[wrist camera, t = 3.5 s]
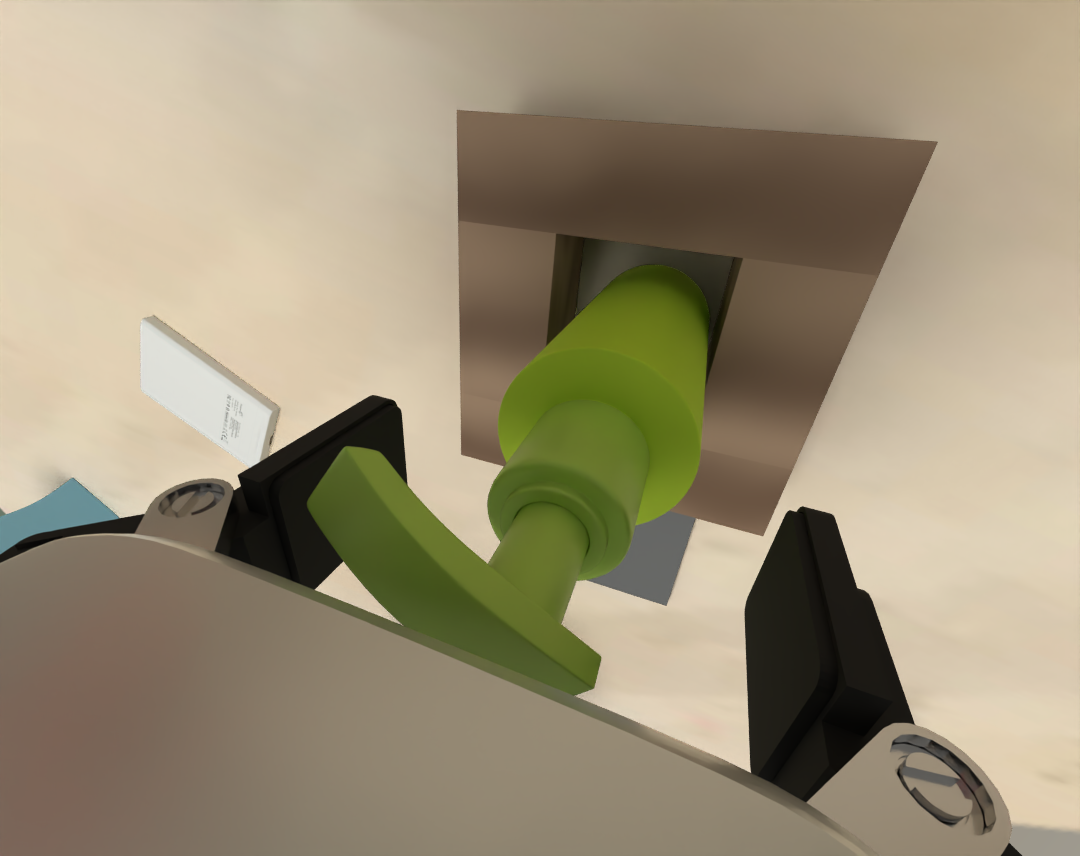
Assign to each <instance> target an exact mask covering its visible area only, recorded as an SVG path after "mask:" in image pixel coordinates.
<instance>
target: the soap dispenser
mask: <svg viewBox="0 0 1080 856" xmlns="http://www.w3.org/2000/svg"><path fill="white" fill-rule="evenodd" d="M709 321H710V318H709V309H708V305H707V301H706V299H705V297H704V295H703V293H702V291H701V289H700V288H699V287H698V285H697V284H696V283H695V282H694V281H693V280H692V279H691V278H690V277H688V276H687V275H686V274H684V273H683V272H681V271H679V270H677V269H674V268H671V267H668V266H663V265H643V266H638V267H635V268H632V269H630V270H627V271H625V272H624V273H622V274H620V275H619V276H617V277H616V278H615V279H614V280H613V281H612V282H611V283H610V284H608V285H607V286H606V287H605V288H604V289H603V290H602V291H601V292H600V293H599V294H598V295H597V296H596V297H595V298H594V299H593V300H592V301H591V302H590V303H589V304H588V305H587V306H586V307H585V308H584V309H583V310H582V311H581V312H580V313H579V314H578V315H577V316H576V317H575V318H574V319H573V320H572V321H571V322H570V323H569V324H568V325H567V326H566V327H565V328H564V329H563V330H562V331H561V332H560V333H559V334H558V335H557V336H556V337H555V338H554V339H553V340H552V341H551V342H550V343H549V344H548V345H547V346H546V347H545V348H544V349H543V350H542V351H541V352H540V353H539V354H538V355H537V356H536V357H535V358H534V359H533V360H532V361H531V362H530V363H529V364H528V365H527V366H526V367H525V368H524V369H523V370H522V371H521V372H520V373H519V374H518V375H517V376H516V377H515V379H514V380H513V381H512V383H511V384H510V386H509V387H508V389H507V391H506V393H505V395H504V397H503V400H502V403H501V406H500V411H499V417H498V435H499V442H500V446H501V450H502V453H503V456H504V458H505V461H506V464H505V466H504V467H503V469H502V470H501V471H500V473H499V474H498V476H497V477H496V479H495V480H494V482H493V484H492V486H491V489H490V492H489V495H488V503H487V507H488V515H489V519H490V522H491V525H492V528H493V530H494V532H495V534H496V536H497V537H498V539H499V540H500V542H501V543H500V544H499V546H498V548H497V549H496V551H495V553H494V554H493V556H492V558H491V559H490V561H489V563H488V564H487V563H486V562H485V561H483V560H482V559H481V558H480V557H479V556H478V555H476V554H475V553H474V552H473V551H472V550H471V549H469V548H468V547H467V546H466V545H465V544H464V543H463V542H461V541H460V540H459V539H458V538H457V537H456V536H455V535H454V534H453V533H452V532H451V531H449V530H448V529H447V528H446V527H445V526H444V525H443V524H442V523H441V522H440V521H439V520H438V519H437V518H436V517H435V516H434V515H433V514H432V513H431V512H430V510H429V509H428V508H427V507H426V506H425V505H424V504H423V503H422V502H421V501H420V500H419V498H418V497H417V496H416V495H415V494H414V493H413V492H412V490H411V489H410V488H409V487H408V486H407V484H406V483H405V482H404V481H403V479H402V478H401V477H400V476H399V474H398V473H397V472H396V471H395V469H394V468H393V467H392V465H391V464H390V463H389V462H388V460H387V459H386V458H385V457H384V456H383V455H382V454H381V453H380V452H379V451H376V450H371V449H367V448H361V447H351V446H346V447H344V448H343V449H342V450H341V452H340V453H339V454H338V456H337V457H336V459H335V460H334V462H333V463H332V464H331V466H330V467H329V469H328V470H327V472H326V473H325V475H324V476H323V478H322V479H321V481H320V482H319V484H318V485H317V487H316V488H315V490H314V491H313V493H312V494H311V496H310V497H309V499H308V501H307V508H308V510H309V512H310V513H311V515H312V517H313V518H314V520H315V522H316V523H317V525H318V526H319V528H320V529H321V531H322V532H323V534H324V535H325V537H326V538H327V539H328V541H329V542H330V544H331V545H332V546H333V548H334V549H335V551H336V552H337V553H338V555H339V556H340V557H341V559H342V560H343V561H344V562H345V564H346V565H347V566H348V568H349V569H350V570H351V571H352V573H353V574H354V575H355V576H356V577H357V579H358V580H359V581H360V582H361V583H362V584H363V586H364V587H365V588H366V589H367V590H368V591H369V592H370V593H371V594H372V595H373V596H374V598H375V599H376V600H377V601H378V602H379V603H380V604H381V605H382V606H383V607H384V608H385V609H386V610H387V611H388V612H389V613H390V614H391V615H392V616H394V617H395V618H396V619H397V620H398V621H399V622H400V623H401V624H402V625H403V626H405V627H407V628H410V629H412V630H415V631H417V632H420V633H422V634H425V635H427V636H430V637H432V638H434V639H437V640H439V641H442V642H444V643H447V644H449V645H452V646H454V647H456V648H459V649H461V650H464V651H466V652H469V653H471V654H474V655H476V656H478V657H481V658H483V659H486V660H488V661H491V662H493V663H496V664H498V665H500V666H503V667H505V668H508V669H510V670H513V671H515V672H517V673H520V674H522V675H525V676H527V677H529V678H532V679H534V680H537V681H539V682H542V683H544V684H546V685H549V686H551V687H554V688H556V689H558V690H561V691H563V692H566V693H568V694H571V695H573V696H575V695H578V694H581V693H583V692H586V691H589V690H591V689H593V688H594V687H595V683H596V679H597V675H598V670H599V666H600V662H601V656H600V655H599V654H598V653H596V652H595V651H594V650H593V649H591V648H590V647H589V646H588V645H586V644H585V643H584V642H583V641H581V640H580V639H579V638H578V637H576V636H575V635H574V634H573V633H571V632H570V631H569V630H568V629H566V628H565V627H564V626H563V625H561V623H562V620H563V618H564V615H565V612H566V609H567V606H568V603H569V601H570V598H571V595H572V592H573V589H574V586H575V583H576V581H580V580H589V579H593V578H597V577H600V576H603V575H605V574H607V573H609V572H610V571H612V570H613V569H615V568H616V567H617V566H618V565H619V564H620V563H621V562H622V560H623V559H624V558H625V556H626V554H627V552H628V550H629V548H630V545H631V541H632V538H633V534H634V530H635V525H639V524H643V523H646V522H649V521H651V520H653V519H656V518H658V517H660V516H661V515H663V514H665V513H666V512H668V511H669V510H670V509H672V508H673V507H674V506H675V505H676V504H677V503H678V502H679V501H680V500H681V499H682V498H683V497H684V496H685V494H686V493H687V492H688V490H689V489H690V487H691V485H692V483H693V481H694V479H695V476H696V474H697V471H698V467H699V462H700V454H701V440H702V425H703V410H704V395H705V381H706V366H707V351H708V336H709Z"/></svg>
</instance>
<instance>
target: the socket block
mask: <svg viewBox="0 0 1080 856" xmlns="http://www.w3.org/2000/svg"><path fill="white" fill-rule="evenodd" d="M937 143H938V142H934V141H919V140H904V139H889V138H874V137H858V136H843V135H828V134H813V133H797V132H782V131H767V130H752V129H737V128H721V127H706V126H691V125H676V124H660V123H645V122H630V121H615V120H599V119H584V118H569V117H554V116H539V115H523V114H508V113H493V112H478V111H462V110H457V160H458V236H459V313H460V389H461V455H464V456H468V457H472V458H475V459H479V460H483V461H486V462H490V463H494V464H498V465H501V466H505V464H506V461H505V458H504V456H503V453H502V450H501V446H500V442H499V435H498V417H499V411H500V406H501V403H502V400H503V397H504V395H505V393H506V391H507V389H508V387H509V386H510V384H511V383H512V381H513V380H514V379H515V377H516V376H517V375H518V374H519V373H520V372H521V371H522V370H523V369H524V368H525V367H526V366H527V365H528V364H529V363H530V362H531V361H532V360H533V359H534V358H535V357H536V356H537V355H538V354H539V353H540V352H541V351H542V350H543V349H544V348H545V347H546V346H547V345H548V344H549V343H550V342H551V341H552V340H553V339H554V338H555V337H556V336H557V335H558V334H559V333H560V332H561V331H562V330H563V329H564V328H565V327H566V326H567V325H568V324H569V323H570V322H571V321H572V320H573V319H574V318H575V312H576V303H577V295H578V286H579V278H580V269H581V261H582V252H583V244H584V237H586V238H594V239H602V240H609V241H617V242H624V243H632V244H640V245H647V246H655V247H662V248H670V249H678V250H685V251H693V252H700V253H708V254H716V255H723V256H731V257H734V259H733V263H732V266H731V270H730V274H729V277H728V281H727V284H726V288H725V291H724V295H723V299H722V302H721V306H720V309H719V313H718V316H717V320H716V324H715V327H714V331H713V334H712V338H711V341H710V345H709V349H708V352H707V366H706V381H705V395H704V410H703V425H702V440H701V454H700V462H699V467H698V471H697V474H696V476H695V479H694V481H693V483H692V485H691V487H690V489H689V490H688V492H687V493H686V494H685V496H684V497H683V498H682V499H681V500H680V501H679V502H678V503H677V504H676V505H675V506H674V507H673V508H672V509H670V510H669V511H671V512H675V513H679V514H682V515H686V516H690V517H693V518H697V519H701V520H705V521H708V522H712V523H716V524H719V525H723V526H727V527H730V528H734V529H738V530H742V531H745V532H749V533H753V534H756V535H760V536H763V535H764V533H765V531H766V528H767V526H768V524H769V522H770V519H771V517H772V515H773V513H774V510H775V508H776V506H777V504H778V501H779V499H780V497H781V495H782V492H783V490H784V488H785V486H786V483H787V481H788V479H789V477H790V474H791V472H792V470H793V468H794V465H795V463H796V461H797V459H798V456H799V454H800V452H801V449H802V447H803V445H804V443H805V440H806V438H807V436H808V434H809V431H810V429H811V427H812V425H813V422H814V420H815V418H816V416H817V413H818V411H819V409H820V407H821V404H822V402H823V400H824V398H825V395H826V393H827V391H828V389H829V386H830V384H831V382H832V380H833V377H834V375H835V373H836V370H837V368H838V366H839V364H840V361H841V359H842V357H843V355H844V352H845V350H846V348H847V346H848V343H849V341H850V339H851V337H852V334H853V332H854V330H855V328H856V325H857V323H858V321H859V319H860V316H861V314H862V312H863V310H864V307H865V305H866V303H867V301H868V298H869V296H870V294H871V291H872V289H873V287H874V285H875V282H876V280H877V278H878V276H879V273H880V271H881V269H882V267H883V264H884V262H885V260H886V258H887V255H888V253H889V251H890V249H891V246H892V244H893V242H894V240H895V237H896V235H897V233H898V231H899V228H900V226H901V224H902V222H903V219H904V217H905V215H906V212H907V210H908V208H909V206H910V203H911V201H912V199H913V197H914V194H915V192H916V190H917V188H918V185H919V183H920V181H921V179H922V176H923V174H924V172H925V170H926V167H927V165H928V163H929V161H930V158H931V156H932V154H933V152H934V149H935V147H936V145H937Z"/></svg>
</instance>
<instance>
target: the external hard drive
mask: <svg viewBox="0 0 1080 856" xmlns="http://www.w3.org/2000/svg"><path fill="white" fill-rule="evenodd" d="M140 361H141V363H140V372H141V373H140V377H141V378H140V383H141V385H140V387H141V390H142V392H143V393H145V394H146V395H147V396H149V397H150V398H152V399H153V400H155V401H156V402H157V403H159V404H160V405H162V406H163V407H164V408H166V409H167V410H169V411H170V412H171V413H173V414H174V415H176V416H177V417H178V418H180V419H181V420H183V421H184V422H186V423H187V424H188V425H190V426H191V427H193V428H194V429H195V430H197V431H198V432H200V433H201V434H203V435H204V436H205V437H207V438H208V439H210V440H211V441H212V442H214V443H215V444H217V445H218V446H219V447H221V448H222V449H224V450H225V451H227V452H228V453H230V454H231V455H232V456H234V457H235V458H237V459H238V460H239V461H241V462H242V463H244V464H245V465H246V466H248V467H249V468H250V467H252V466H254V465H255V464H257V463H259V462H260V461H262V460H264V459H265V458H267V457H268V454H269V450H270V444H269V442H270V438H271V436H272V435H273V434H274V430H275V426H276V422H277V418H278V414H279V410H280V407H279V406H277V405H276V404H274V403H273V402H272V401H270V400H269V399H268V398H266V397H265V396H264V395H262V394H261V393H259V392H258V391H257V390H255V389H254V388H253V387H251V386H250V385H248V384H247V383H246V382H244V381H243V380H242V379H240V378H239V377H238V376H236V375H235V374H233V373H232V372H231V371H229V370H228V369H226V368H225V367H224V366H222V365H221V364H220V363H218V362H217V361H215V360H214V359H213V358H211V357H210V356H209V355H207V354H206V353H204V352H203V351H202V350H200V349H199V348H198V347H196V346H195V345H193V344H192V343H191V342H189V341H188V340H187V339H185V338H184V337H182V336H181V335H180V334H178V333H177V332H176V331H174V330H173V329H171V328H170V327H169V326H167V325H166V324H164V323H163V322H162V321H160V320H159V319H158V318H156V317H155V316H151V317H147V318H144V319H142V321H141V324H140Z"/></svg>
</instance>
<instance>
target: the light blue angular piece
mask: <svg viewBox="0 0 1080 856" xmlns="http://www.w3.org/2000/svg"><path fill="white" fill-rule="evenodd" d="M114 519H119V517H118V516H117V515H116V514H114V513H113V512H112V511H111V510H110V509H109V508H107V507H106V506H105V505H104V504H103V503H102V502H100V501H99V500H98V499H97V498H96V497H95V496H93V495H92V494H91V493H90V492H89V491H88V490H86V489H85V488H84V487H83V486H82V485H81V484H79V483H78V482H77V481H76V480H75V479H74V478H71V479H70V480H69V481H67V482H66V483H65V484H63V485H62V486H61V487H59V488H58V489H56V490H55V491H53V492H52V493H50V494H49V495H47V496H46V497H44V498H42V499H41V500H39V501H37V502H35V503H33V504H31V505H29V506H27V507H24V508H22V509H20V510H17V511H15V512H12V513H9V514H6V515H3V516H1V517H0V554H2V553H3V552H4V551H6V550H7V549H9V548H10V547H12V546H14V545H15V544H16V543H18V542H19V541H21V540H23V539H25V538H27V537H29V536H32V535H34V534H38V533H42V532H48V531H54V530H58V529H63V528H69V527H75V526H80V525H86V524H91V523H97V522H102V521H108V520H114Z"/></svg>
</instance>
